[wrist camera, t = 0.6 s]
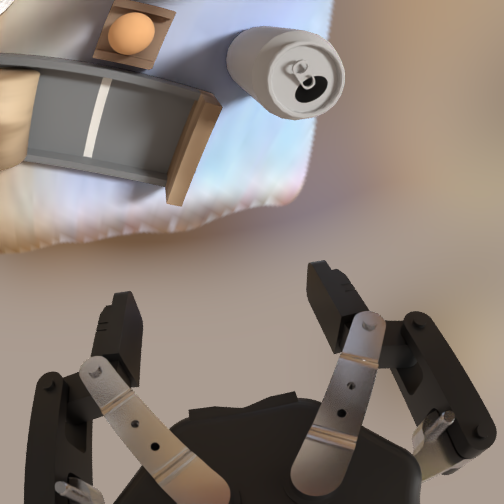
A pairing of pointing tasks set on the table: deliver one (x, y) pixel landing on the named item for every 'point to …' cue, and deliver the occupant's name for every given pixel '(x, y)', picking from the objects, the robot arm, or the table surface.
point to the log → (16, 113)
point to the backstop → (191, 146)
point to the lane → (104, 118)
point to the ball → (131, 33)
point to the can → (287, 70)
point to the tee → (148, 55)
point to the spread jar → (5, 5)
